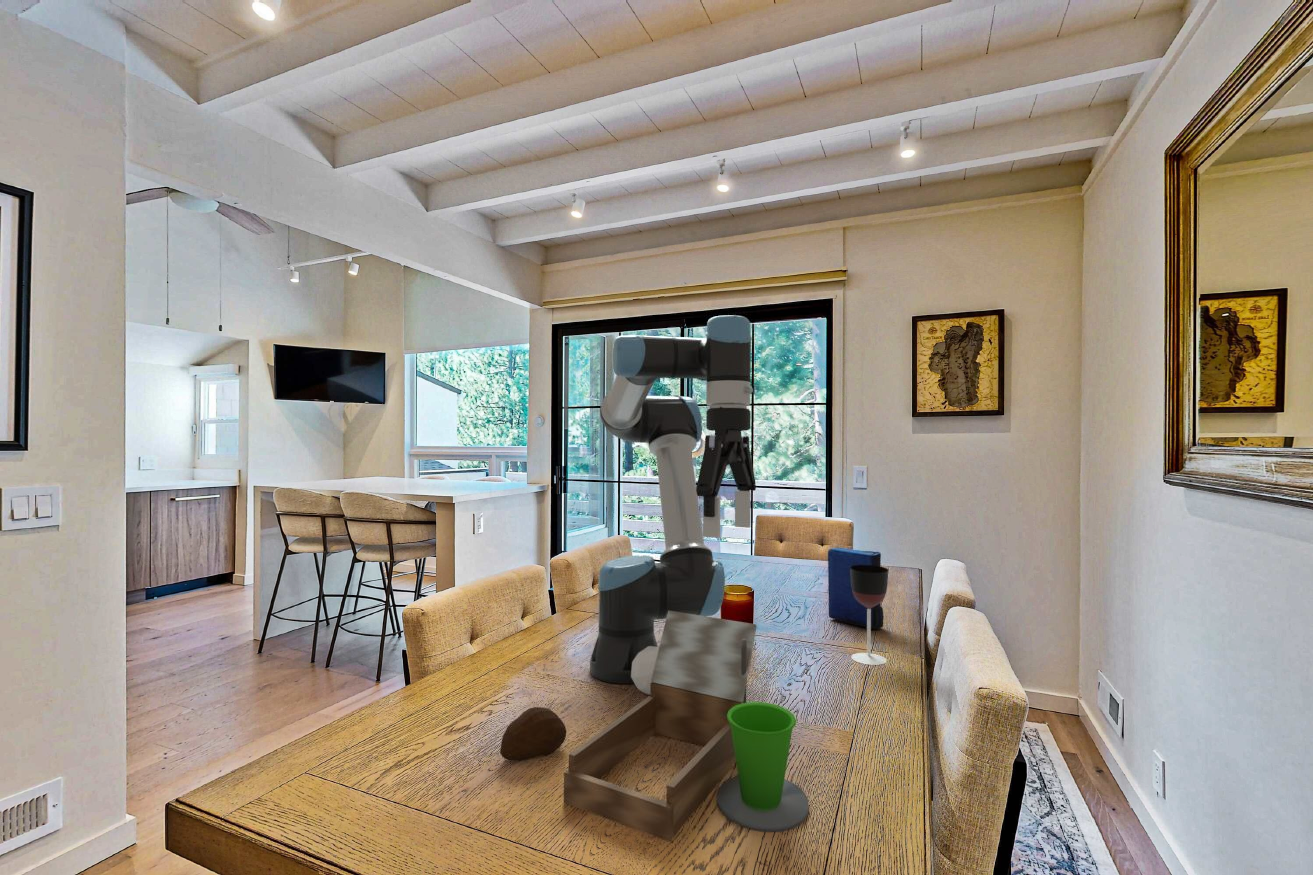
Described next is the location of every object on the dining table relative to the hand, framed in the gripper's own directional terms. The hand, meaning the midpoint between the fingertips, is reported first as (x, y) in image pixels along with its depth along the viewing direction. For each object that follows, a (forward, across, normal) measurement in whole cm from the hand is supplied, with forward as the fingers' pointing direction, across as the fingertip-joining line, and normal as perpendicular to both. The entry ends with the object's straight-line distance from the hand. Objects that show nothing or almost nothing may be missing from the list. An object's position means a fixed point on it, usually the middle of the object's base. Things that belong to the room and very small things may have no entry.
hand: (727, 531), depth 105 cm
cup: (+32, -20, -13) cm, 40 cm away
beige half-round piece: (+33, +4, +16) cm, 37 cm away
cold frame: (+33, -17, +2) cm, 37 cm away
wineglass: (+33, +45, -15) cm, 58 cm away
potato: (+33, -24, +22) cm, 46 cm away
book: (+33, +70, -7) cm, 78 cm away
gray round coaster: (+33, -19, -13) cm, 40 cm away
